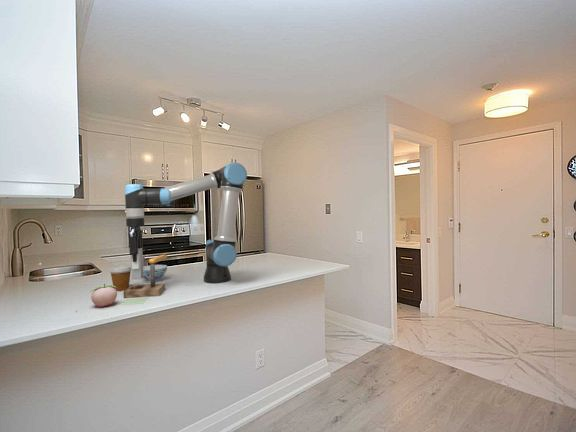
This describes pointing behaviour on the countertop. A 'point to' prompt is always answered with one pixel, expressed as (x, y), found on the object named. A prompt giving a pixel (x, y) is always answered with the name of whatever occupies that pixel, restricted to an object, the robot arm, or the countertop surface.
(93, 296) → the decorative fruit
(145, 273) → the chinaware
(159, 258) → the clip
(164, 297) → the countertop surface
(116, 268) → the disposable coffee cup
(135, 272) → the gray square post
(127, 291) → the socket block
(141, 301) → the mat
